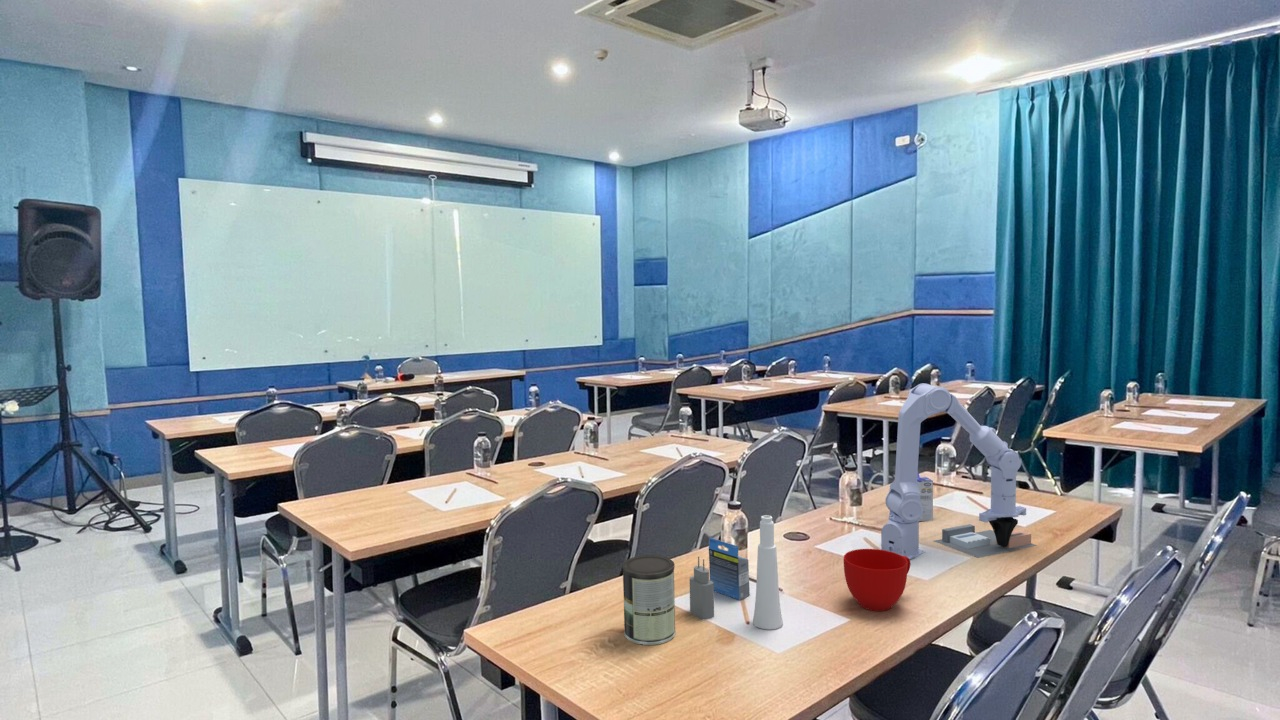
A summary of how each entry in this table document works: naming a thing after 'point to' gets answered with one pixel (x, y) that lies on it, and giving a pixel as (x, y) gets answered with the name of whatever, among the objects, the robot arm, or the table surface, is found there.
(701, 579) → the power adapter
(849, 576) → the ceramic cup
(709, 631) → the table surface
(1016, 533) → the stub
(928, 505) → the ink cartridge box
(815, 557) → the table surface
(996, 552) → the desk mat
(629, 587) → the coffee can
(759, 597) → the cosmetic bottle
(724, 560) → the label tape box
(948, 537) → the grey stepped housing
